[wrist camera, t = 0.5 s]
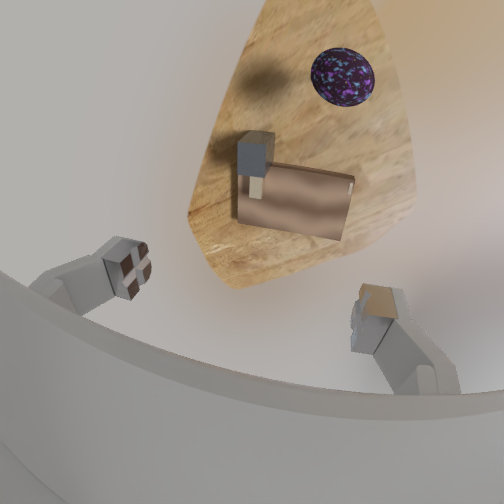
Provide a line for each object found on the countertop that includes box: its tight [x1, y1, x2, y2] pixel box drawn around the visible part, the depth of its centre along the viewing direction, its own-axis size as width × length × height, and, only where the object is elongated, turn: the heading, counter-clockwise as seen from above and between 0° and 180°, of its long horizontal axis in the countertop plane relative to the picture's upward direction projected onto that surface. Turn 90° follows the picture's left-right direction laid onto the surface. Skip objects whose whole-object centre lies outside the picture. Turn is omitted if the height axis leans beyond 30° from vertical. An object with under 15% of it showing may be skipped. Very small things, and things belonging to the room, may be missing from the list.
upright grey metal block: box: [237, 130, 275, 199], centre depth 40 cm, size 10×4×7 cm, turn 178°
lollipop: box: [311, 48, 375, 107], centre depth 26 cm, size 7×7×15 cm
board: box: [238, 162, 355, 241], centre depth 45 cm, size 12×19×2 cm, turn 88°
